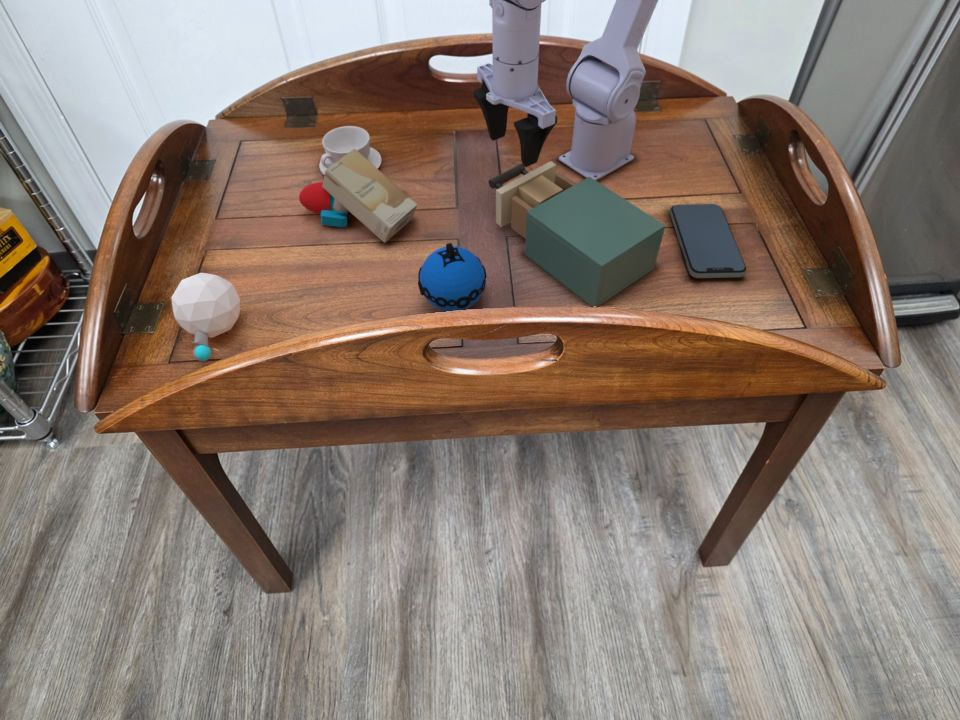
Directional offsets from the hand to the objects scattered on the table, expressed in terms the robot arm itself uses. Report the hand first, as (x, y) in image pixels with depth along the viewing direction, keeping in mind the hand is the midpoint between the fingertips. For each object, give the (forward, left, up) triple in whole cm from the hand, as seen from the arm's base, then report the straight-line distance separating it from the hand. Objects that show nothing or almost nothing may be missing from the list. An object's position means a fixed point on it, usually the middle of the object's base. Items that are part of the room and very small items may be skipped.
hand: (513, 150), depth 90 cm
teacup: (+13, -25, -10) cm, 30 cm away
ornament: (+19, +10, -10) cm, 24 cm away
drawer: (0, +6, -9) cm, 11 cm away
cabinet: (0, +16, -10) cm, 19 cm away
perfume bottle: (+46, -5, -10) cm, 47 cm away
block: (0, +6, -8) cm, 9 cm away
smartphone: (-15, +24, -10) cm, 30 cm away
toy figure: (+19, -15, -10) cm, 26 cm away
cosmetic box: (+16, -5, -8) cm, 19 cm away
